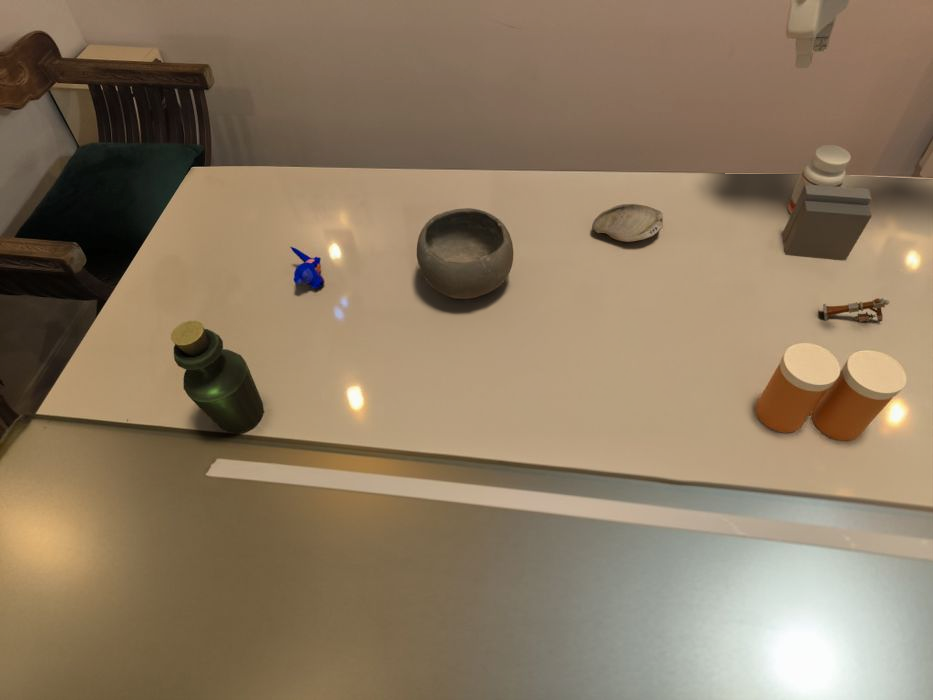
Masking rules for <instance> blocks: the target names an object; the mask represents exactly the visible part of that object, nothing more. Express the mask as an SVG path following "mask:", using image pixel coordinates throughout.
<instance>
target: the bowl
mask: <svg viewBox="0 0 933 700" xmlns="http://www.w3.org/2000/svg"><path fill="white" fill-rule="evenodd" d="M416 260H417V263H418V267H419V269H420V271H421V273H422V275H423V278H424V279H425V280H426V282H427V283H428V284H429V285H430V286H431V287H432V288H434V289H435V290H436V291H438V292H439V293H441V294H443V295H445V296H446V297H450V298H454V299H463V300H464V299H473V298H474V299H475V298H477V297H481V296H484V295H487V294H489V293H491V292H492V291H494V290H496V289H497V288H498V287H500V286H501V285H502V284H503V283H504V282H505V281H506V279H507V278H508V276H509V274H510V272H511V270H512V266H513V263H514V244H513V240H512V238H511V234H510V232H509V230H508V229H507V227H506V226H505V223H503V221H501V220H500V219H499V218H498V217H497V216H495V215H493V214H492V213H490V212H487V211H485V210H481V209H478V208H471V207H464V208H456V209H451V210H447V211H444V212H441V213H438V214H436V215H434V216H433V217H431V218H430V219H429V220H428V221H427V222H426V223H425V224H424V226H423V227H422V228H421V231H420V233H419V235H418V239H417V244H416Z"/></svg>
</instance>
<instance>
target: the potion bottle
mask: <svg viewBox="0 0 933 700" xmlns="http://www.w3.org/2000/svg"><path fill="white" fill-rule="evenodd" d="M204 327H205V326H204V325H203V324H202V322H201V321H199V320H192V319H191V320H186V321H183V322H181V323H179V324H177V326H175V327H174V328H173V330H172V331H171V333H170V341H171V342H172V343H173V344H174V346H173V360H174V362H175V363H176V365H177V367H180V368H181V369H183V370H185V371H184V373H183V384H182V385H183V390H184V392H185V393H186V395H187V396H188V398H189V399H190V400H191V401H193V403H194V404H195V405H196V406H198V408H199V409H200V410H201V411H202V412H203V413H204V414H205V415H206V416H207V417H208V418H209V419H210V420H211V421H212V422H213V423H214V424H215V425H216V426H217V427H218V428H219V429H220V430H221V431H223V432H225V433H228V434H241V433H244V432H247V431H249V430H251V429H252V428H254V427H255V426H256V425H257V424H258V423H259V421H260V420H261V419H262V417H263V414H264V411H265V409H264V402H263V400H262V398H261V395H260V392H259V390H258V387H257V385H256V383H255V380H254V378H253V375H252V374H251V373H252V372H251V371H250V369H249V366H248V363H247V361H246V360H245V359H244V357H243V356H242V355H241V354H240V353H238V352H235V351H233V350H230V349H226V348H224V341H223V339H222V338H221V336H220V335H219V334H217V333H216V332H214V331H212V330H211V329H208V328H204Z"/></svg>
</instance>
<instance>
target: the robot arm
mask: <svg viewBox="0 0 933 700" xmlns="http://www.w3.org/2000/svg"><path fill="white" fill-rule="evenodd" d="M849 3H850V0H790V4H789V9H788V14H787V20H786V25H785V27H786V28H785V34H786V38H787V39H792V40H795V50H796V51H795V53H796V57H795V64H794V65H795V68H797V69H807V68H808V67H809V66H810V65H811V64H812V62H813V56H814V52H815V53H817V52H820V53H821V52H824V51H826V50H827V49H828V47H829V45H830V40H831V35H832V33H833V29H834V27H835V24H836V21H837V17H838V16H839V15H840V14H841V13H842V12H843V11H845V10H846V9H847V7H848V5H849Z"/></svg>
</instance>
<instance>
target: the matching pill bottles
mask: <svg viewBox="0 0 933 700" xmlns="http://www.w3.org/2000/svg"><path fill="white" fill-rule="evenodd" d="M906 384H907V374H906V371H905V369H904V367H903V366H902V365H901V364H900V362H898V361H897V360H896V359H895V358H893V357H891V356H890V355H888V354H886V353H884V352H881V351H877V350H871V349H864V350H859V351H855V352H853V353H852V354H850V356H849V358H847V360H846V361H845V363H844V364H843V367H842V369H841V365H840V363H839V360H838V359H837V357H836V356H835V355H834V354H833V353H832V352H831V351H829V350H828V349H826V348H825V347H823V346H821V345H818V344H814V343H810V342H799V343H794V344H792V345H790V346H789V347H788V348H787V349H785V351H784V353H783V355H782V357H781V358H780V361H779V364H778V365H777V367H776V369H775V370H774V372H773V374H772V376H771V377H770V379H769V380H768V382H767V385H766V386H765V388H764V389H763V391H762V393H761V395H760V396H759V398H758V400H757V401H756V404H755V413H756V416H757V418H758V419H759V421H760V422H761V423H762V424H763V425H765V427H767V428H769V429H771V430H773V431H775V432H778V433H783V434H784V433H787V434H788V433H793V432H796V431H798V430H800V428H802V427H803V425H804V424H805V422H806V421H807V419H808V418H809V417H810V415H811V417H812V418H811V419H812V422H813V423H814V425H815V427H816V428H817V429H818V430H819V432H821V433H822V434H824V435H825V436H827V437H829V438H831V439H834V440H836V441H845V442H847V441H852V440H855V439H857V438H858V437H859V436H860V435H861V434H862V433H863V432H864V431H865V430H866V428H867V427H869V426H870V424H871V423H872V422H873V421H874V420H875V419H876V417H877V416H878V415H879V414H880V413H881V412H882V411H883V410H884V408H885V407H886V406H887V405H888V404H889V403H890V402H891V401H892V399H894V397H896V396H897V395H898V394H899V393H900V392H901V391H902V389H904V388H905V386H906Z"/></svg>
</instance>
